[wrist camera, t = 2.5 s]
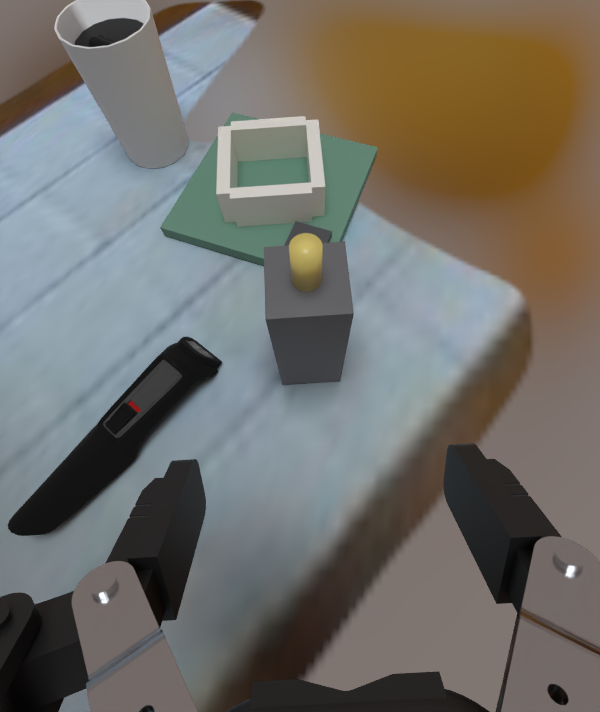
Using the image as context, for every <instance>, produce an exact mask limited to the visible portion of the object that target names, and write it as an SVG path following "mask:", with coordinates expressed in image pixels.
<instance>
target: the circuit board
mask: <svg viewBox="0 0 600 712" xmlns="http://www.w3.org/2000/svg"><path fill="white" fill-rule="evenodd" d="M245 120H259V119H257V118H252V117H248V116H244V115H240V114H236V113H232V114H231V115H230V117H229V118H228V120H227V122H226V123H225V125H224V126H231V121H245ZM320 141H321V151H322V160H323V170H324V179H325V210H324V216H314V217H312V222H297V221H295V223H284V224H270V225H255V226H241V227H237V223H236V222H227V223H225V221H224V218H223V214H222V211H221V208H220V205H219V201H218V198H217V195H216V186H217V154H218V136H217V138H216V139H215V141H214V142H213V144H212V146H211V147H210V149H209V150H208V152H207V154H206V155H205V157H204V158H203V160H202V162H201V163H200V165H199V166H198V168H197V170H196V171H195V173H194V174H193V176H192V178H191V179H190V181H189V182H188V184H187V186H186V187H185V189H184V190H183V192H182V194H181V195H180V197H179V198H178V200H177V202H176V203H175V205H174V206H173V208H172V210H171V211H170V213H169V214H168V216H167V218H166V219H165V221H164V222H163V224H162V226H161V227H160V228H161V230H162V232H163V233H164V235H165V236H167V237H171V238H174V239H177V240H180V241H184V242H187V243H190V244H194V245H197V246H200V247H203V248H207V249H210V250H213V251H217V252H220V253H223V254H226V255H230V256H233V257H236V258H240V259H243V260H246V261H249V262H253V263H256V264H259V265H263V266H264V247H272V246H287V245H289V244H290V241H291V240H292V239H293V238H294V237H295V236H297V235H299V234H302V233H310V234H313V235H315V236H317V237H318V238H319V239H320V240H321V242H322V243H330V242H342V239H343V237H344V234H345V232H346V230H347V227H348V225H349V222H350V220H351V217H352V215H353V213H354V210H355V208H356V205H357V203H358V200H359V198H360V195H361V193H362V190H363V188H364V186H365V183H366V181H367V178H368V176H369V173H370V171H371V169H372V166H373V164H374V161H375V159H376V155H377V149H378V147H374V146H370V145H366V144H361V143H357V142H353V141H349V140H344V139H341V138H336V137H332V136H328V135H323V134H320ZM295 183H309V178H308V166H307V157H301V158H287V159H273V160H259V161H245V162H238V187H253V186H267V185H281V184H295Z"/></svg>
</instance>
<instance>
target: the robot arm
mask: <svg viewBox="0 0 600 712" xmlns="http://www.w3.org/2000/svg"><path fill="white" fill-rule="evenodd" d="M444 494H445V498H446V501H447V503H448V506H449V508H450V510H451V512H452V513H453V516H454V518H455V520H456V522H457V524H458V526H459V528H460V530H461V532H462V534H463V536H464V538H465V540H466V542H467V545H468V547H469V549H470V551H471V553H472V555H473V557H474V558H475V561H476V562H477V565H478V567H479V569H480V571H481V573H482V575H483V577H484V579H485V581H486V583H487V585H488V587H489V589H490V591H491V593H492V595H493V597H494V600H495V601H496V603H497V604H501V603H513V605H514V607H515V609H516V611H517V617H516V621H515V626H514V630H513V635H512V640H511V644H510V649H509V654H508V659H507V663H506V668H505V673H504V677H503V682H502V686H501V691H500V695H499V700H498V703H497V708H496V712H600V561H599V560H598V559H597V557H596V556H594V554H593V553H591V552H590V551H589V550H588V549H586V548H585V547H583V546H581V545H580V544H578V543H576V542H574V541H571V540H569V539H566V538H562V537H561V536H560V534H559V533H558V532H557V530H556V529H555V528H554V526H553V525H552V524H551V523H550V521H549V520H548V519H547V517H546V516H545V515H544V513H543V512H542V511H541V510H540V508H539V507H538V506H537V504H536V503H535V502H534V501H533V499H532V498H531V497H530V496H528V493H527V492H526V490H525V489H524V488H523V486H522V485H520V482H519V481H518V480H517V479H516V477H515V476H514V475H513V473H512V472H511V471H510V470H509V469H508V468H506V467H505V466H504V465H502V464H501V463H499V462H498V461H497V460H495V459H486V458H485V457H484V455H483V454H482V452H481V451H480V450H479V448H478V447H477V446H476V445H475V444H457V445H449V446H448V449H447V456H446V465H445V474H444ZM135 505H136V506H135V507H134V508H133V510H132V512H131V514H130V518H129V519H128V520H127V522H126V524H125V526H124V528H123V530H122V532H121V534H120V536H119V538H118V540H117V542H116V544H115V546H114V548H113V550H112V552H111V554H110V556H109V558H108V560H107V561H106V563H105V564H103V565H101V566H99V567H97V568H95V569H94V570H92V571H91V572H90V573H88V574H87V575H86V576H85V577H84V578H83V579H82V580H81V581H80V583H79V584H78V585H77V587H76V589H75V591H72V592H70V593H67V594H65V595H62V596H59V597H56V598H53V599H50V600H47V601H44V602H41V603H38V604H34V602H33V600H32V598H31V597H30V596H29V595H27V594H25V593H12V594H8V595H5V596H2V597H0V712H58V711H59V709H60V706H61V704H62V701H63V699H64V697H66V696H69V695H71V694H74V693H76V692H78V691H81V690H83V689H86V688H87V694H88V699H89V704H90V708H91V712H197V709H196V707H195V705H194V702H193V700H192V698H191V695H190V693H189V691H188V688H187V686H186V684H185V682H184V679H183V677H182V675H181V672H180V670H179V668H178V665H177V663H176V661H175V658H174V656H173V654H172V652H171V649H170V647H169V645H168V642H167V640H166V638H165V636H164V634H163V632H162V630H160V626H161V623H162V621H165V620H176V618H177V615H178V611H179V607H180V604H181V600H182V597H183V593H184V589H185V586H186V582H187V578H188V575H189V571H190V567H191V564H192V560H193V557H194V553H195V549H196V546H197V542H198V538H199V535H200V531H201V527H202V524H203V520H204V516H205V510H206V499H205V493H204V488H203V483H202V478H201V473H200V468H199V464H198V461H197V460H196V459H194V460H177V461H172V462H171V463H170V465H169V467H168V470H167V472H166V474H165V476H164V478H155V479H154V480H153V481H152V482H151V483H150V484H149V485H148V486H147V487H146V488H145V489H143V490H142V492H141V494H140V496H139V498H138V500H137V502H136V504H135ZM226 712H489V711H488V710H486V709H485V708H483V707H482V706H480V705H479V704H478V703H476V702H474V701H472V700H471V699H469V698H467V697H465V696H463V695H460V694H458V693H456V692H453V691H450V690H447V689H444V686H443V683H442V680H441V676H440V673H439V672H425V673H424V672H423V673H404V674H392V675H389V676H387V677H384V678H381V679H379V680H376V681H374V682H371V683H369V684H366V685H364V686H361V687H358V688H356V689H354V690H350V691H341V690H337V689H333V688H329V687H325V686H321V685H318V684H314V683H310V682H306V681H303V680H299V679H291V680H272V681H253V682H251V694H250V699H248V700H245V701H243V702H241V703H239V704H237V705H235V706H234V707H232V708H230V709H229V710H228V711H226Z"/></svg>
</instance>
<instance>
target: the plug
mask: <svg viewBox="0 0 600 712" xmlns="http://www.w3.org/2000/svg"><path fill="white" fill-rule="evenodd" d="M264 275H265V313H266V323H267V326H268V330H269V334H270V338H271V342H272V346H273V350H274V354H275V357H276V361H277V365H278V369H279V373H280V377H281V381H282V384H283V385H289V384H305V383H320V382H335V381H340V378H341V373H342V368H343V364H344V359H345V354H346V349H347V344H348V339H349V334H350V329H351V324H352V319H353V314H354V313H353V305H352V296H351V288H350V280H349V272H348V264H347V256H346V247H345V241H344V242H330V243H322V242H321V240H320V239H319V238H318V237H317V236H315V235H313V234H310V233H302V234H299V235H297V236H295V237H294V238H293V239H292V240H291V241H290V244H289V245H287V246H272V247H264Z"/></svg>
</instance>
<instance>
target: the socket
mask: <svg viewBox="0 0 600 712" xmlns="http://www.w3.org/2000/svg"><path fill="white" fill-rule="evenodd" d="M301 157H307V166H308V178H309V183H295V184H281V185H267V186H253V187H238V162H245V161H259V160H273V159H287V158H301ZM216 195H217V198H218V201H219V205H220V208H221V211H222V214H223V218H224V221H225V223H227V222H236V223H237V227H241V226H255V225H270V224H284V223H295V221H297V222H312V217H314V216H324V210H325V179H324V170H323V160H322V151H321V141H320V133H319V123H318V120H306V119H305V116H301V117H286V118H273V119H259V120H245V121H231V126H222V127H218V154H217V186H216Z"/></svg>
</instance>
